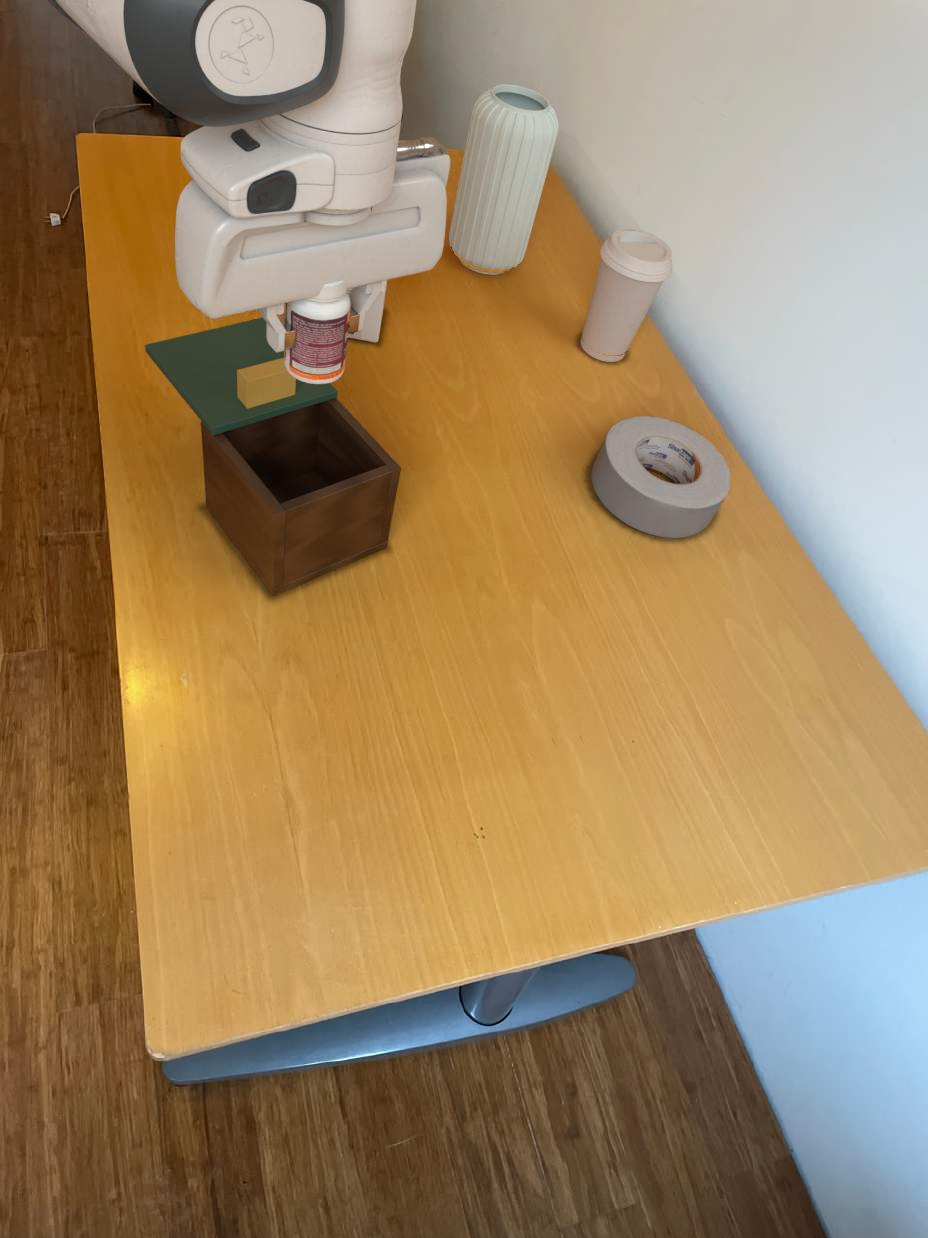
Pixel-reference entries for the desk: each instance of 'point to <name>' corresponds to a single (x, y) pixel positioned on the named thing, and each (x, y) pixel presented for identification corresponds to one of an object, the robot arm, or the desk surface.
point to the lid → (233, 376)
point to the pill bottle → (319, 335)
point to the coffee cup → (624, 291)
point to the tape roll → (648, 496)
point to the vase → (502, 176)
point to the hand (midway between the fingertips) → (315, 337)
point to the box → (300, 492)
